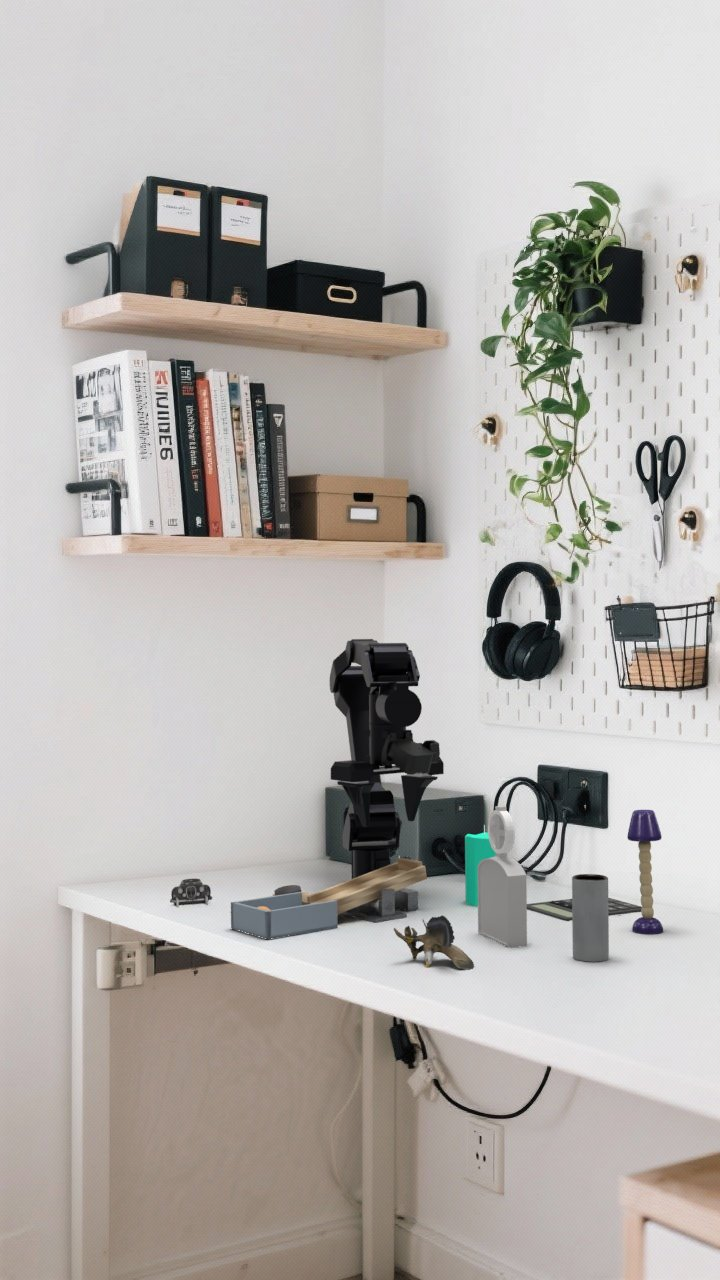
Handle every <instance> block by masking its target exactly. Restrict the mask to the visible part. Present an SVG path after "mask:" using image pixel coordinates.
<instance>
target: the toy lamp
mask: <svg viewBox="0 0 720 1280" xmlns="http://www.w3.org/2000/svg"><path fill="white" fill-rule="evenodd" d="M627 840H628V841H631V842H637V845H638V846H637V847H638V850H639V852H638V859H639V865H638V870H639V872H640V874H639V883H640V887H639V892H640V894H641V896H640V904H641V905H640V906H641V907H642V909H641V912H640V913H641V917H639V918H637V919H636V920H634V921H633V924H632V928H631V931H632V932H634V933H636V934H643V935H644V934H645V935H653V934H660V933H662V932H664V926H663V924H662V922H661V921H660V920H659V919H657V918H656V917H654V915H655V912H654V907H653V905H654V897H653V893H654V889H653V885H652V882H653V876H652V863H651V861H652V854H651V849H652V843H651V842H658V841H661V840H662V833H661V830H660V826H659V821H658V819H657V816H656V812H655V811H654V810H652V809H636V810H635V809H634V811H633V812H632V814H631V817H630V822H629V827H628V831H627Z"/></svg>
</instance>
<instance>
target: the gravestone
mask: <svg viewBox="0 0 720 1280" xmlns="http://www.w3.org/2000/svg"><path fill="white" fill-rule="evenodd" d="M494 809H495V810H492V811H491V813H490V815H489V818H488V822H487V832H488V836H489V841H490V844H491V847H492V849H493V850H494V851H495V852H496V856H495V857H492V858H486V859H483V860H482V861H480V863H479V864H478V906H477V934H479V935H480V936H482V935H483V937H484V936H485V937H484V938H487V939H489V940H491V939H492V940H491V941H493V940H494V942H495V941H496V942H495V943H497V942H498V943H497V944H499V943H500V944H499V945H501V944H502V946H504V945H505V946H504V947H506V946H507V947H506V948H508V947H511V948H520V947H519V946H522V947H527V946H528V922H527V921H528V919H527V918H528V913H527V911H528V909H527V904H528V902H527V901H528V900H527V898H528V897H527V896H528V895H527V892H528V891H527V874H526V871H525V869H524V868H523V867H522V865H521V863H519V862H518V861H517V860H515V859H513V858H511V857H510V856H508V854H509V853H510V852H511V851H512V849H513V848H514V847H513V846H514V843H515V826H514V821H513V818H512V816H511V814H510V813H509V811H507V809H508V808H507V806H505V805H497V806H495V808H494Z"/></svg>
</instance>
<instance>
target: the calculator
mask: <svg viewBox="0 0 720 1280" xmlns="http://www.w3.org/2000/svg"><path fill="white" fill-rule="evenodd" d="M641 909H642V905H636V904H633V903H630V902H625V901H622V900H619V899H614V898H612V897H608V913H609V917H610V916H616V915H617V916H618V915H625V914H633V913H641ZM527 911H532V912H535V913H538V914H541V915H544V916H548V917H551V918H555V919H558V920H561V921H565V922H569V921H572V898H570V899H569V898H567V899H559V900H550V901H543V902H542V901H540V902H535V903H527Z"/></svg>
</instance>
